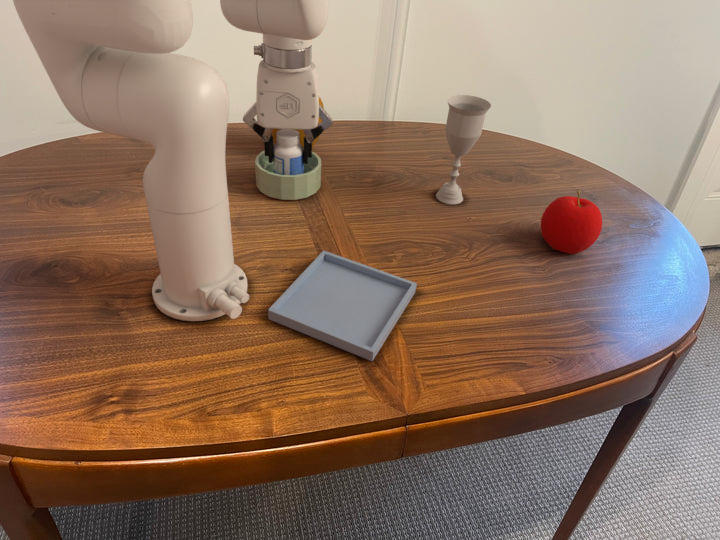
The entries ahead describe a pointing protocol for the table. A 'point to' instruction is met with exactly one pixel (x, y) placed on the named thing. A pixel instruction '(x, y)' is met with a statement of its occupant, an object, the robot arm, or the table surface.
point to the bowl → (288, 179)
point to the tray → (344, 304)
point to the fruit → (571, 224)
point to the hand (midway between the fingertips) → (288, 159)
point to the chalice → (461, 137)
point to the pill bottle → (288, 153)
